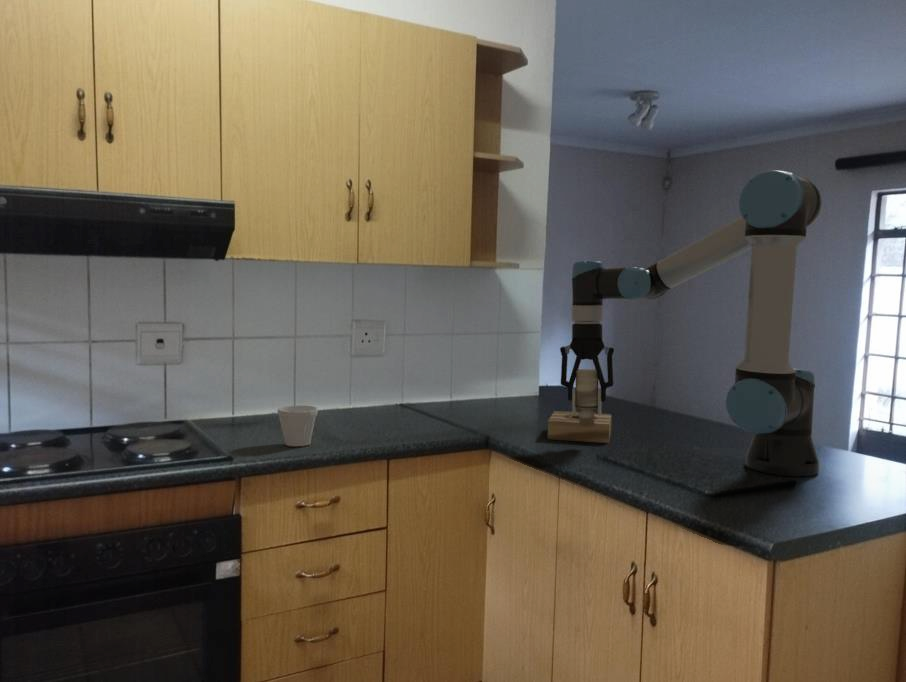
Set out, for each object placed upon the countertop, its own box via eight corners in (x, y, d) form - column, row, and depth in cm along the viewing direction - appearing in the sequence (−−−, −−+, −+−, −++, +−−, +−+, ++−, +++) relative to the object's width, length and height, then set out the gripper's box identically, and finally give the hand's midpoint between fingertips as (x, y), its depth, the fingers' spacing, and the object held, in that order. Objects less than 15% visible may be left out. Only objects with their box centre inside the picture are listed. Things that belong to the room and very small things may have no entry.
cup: (324, 442, 184) (324, 406, 183) (306, 450, 174) (306, 413, 173) (289, 439, 186) (289, 404, 186) (270, 447, 177) (269, 410, 176)
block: (608, 443, 186) (609, 424, 186) (547, 439, 190) (548, 420, 190) (610, 431, 201) (611, 414, 200) (554, 428, 205) (554, 411, 204)
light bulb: (597, 427, 178) (597, 371, 177) (574, 426, 179) (574, 371, 178) (598, 423, 183) (599, 369, 182) (576, 422, 185) (576, 368, 184)
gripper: (625, 322, 181) (624, 412, 182) (551, 322, 186) (551, 410, 187) (624, 323, 174) (624, 417, 175) (548, 323, 178) (548, 414, 180)
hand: (586, 413), depth 181 cm, fingers closed on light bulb, 6 cm apart
